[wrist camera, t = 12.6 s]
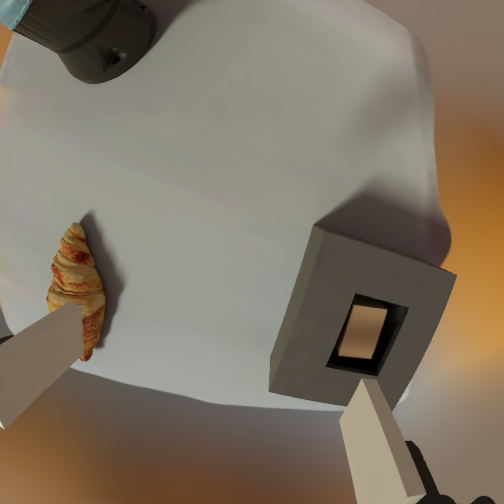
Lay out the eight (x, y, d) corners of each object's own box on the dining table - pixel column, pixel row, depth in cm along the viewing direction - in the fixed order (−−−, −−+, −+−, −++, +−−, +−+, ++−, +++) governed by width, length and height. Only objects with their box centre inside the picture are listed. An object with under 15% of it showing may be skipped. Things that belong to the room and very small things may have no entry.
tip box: (313, 224, 34) (324, 231, 26) (425, 260, 33) (457, 275, 25) (270, 356, 37) (268, 391, 29) (375, 378, 36) (392, 411, 29)
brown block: (341, 288, 34) (353, 304, 28) (371, 293, 34) (387, 309, 28) (329, 332, 35) (338, 355, 29) (358, 336, 35) (370, 358, 29)
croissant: (81, 219, 40) (36, 222, 33) (110, 222, 35) (55, 225, 28) (90, 343, 43) (52, 355, 36) (121, 367, 38) (76, 384, 31)
